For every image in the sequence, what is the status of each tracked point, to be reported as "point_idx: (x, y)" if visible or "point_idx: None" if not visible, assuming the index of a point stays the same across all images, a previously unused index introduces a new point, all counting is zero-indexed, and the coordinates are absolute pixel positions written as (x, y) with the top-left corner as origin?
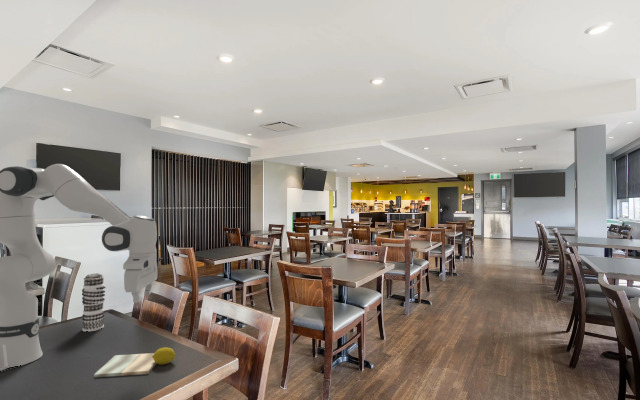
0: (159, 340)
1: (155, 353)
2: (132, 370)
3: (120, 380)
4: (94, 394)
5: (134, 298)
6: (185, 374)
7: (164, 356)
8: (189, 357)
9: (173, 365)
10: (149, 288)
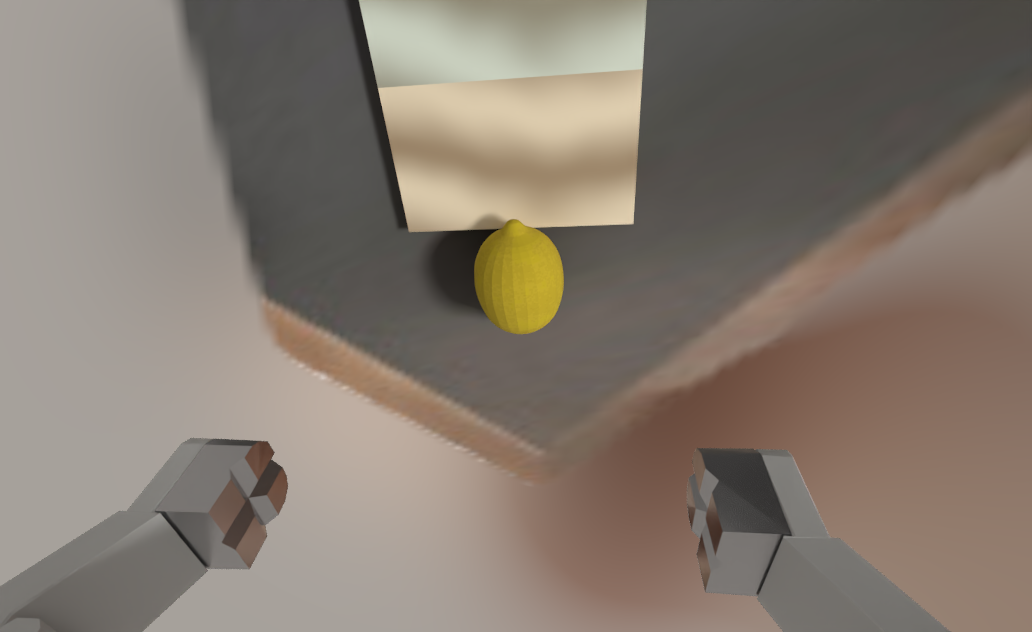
0: (929, 93)
1: (490, 257)
2: (406, 143)
3: (335, 107)
4: (185, 38)
5: (147, 512)
6: (418, 370)
7: (479, 301)
8: (579, 350)
9: None
10: (791, 623)
